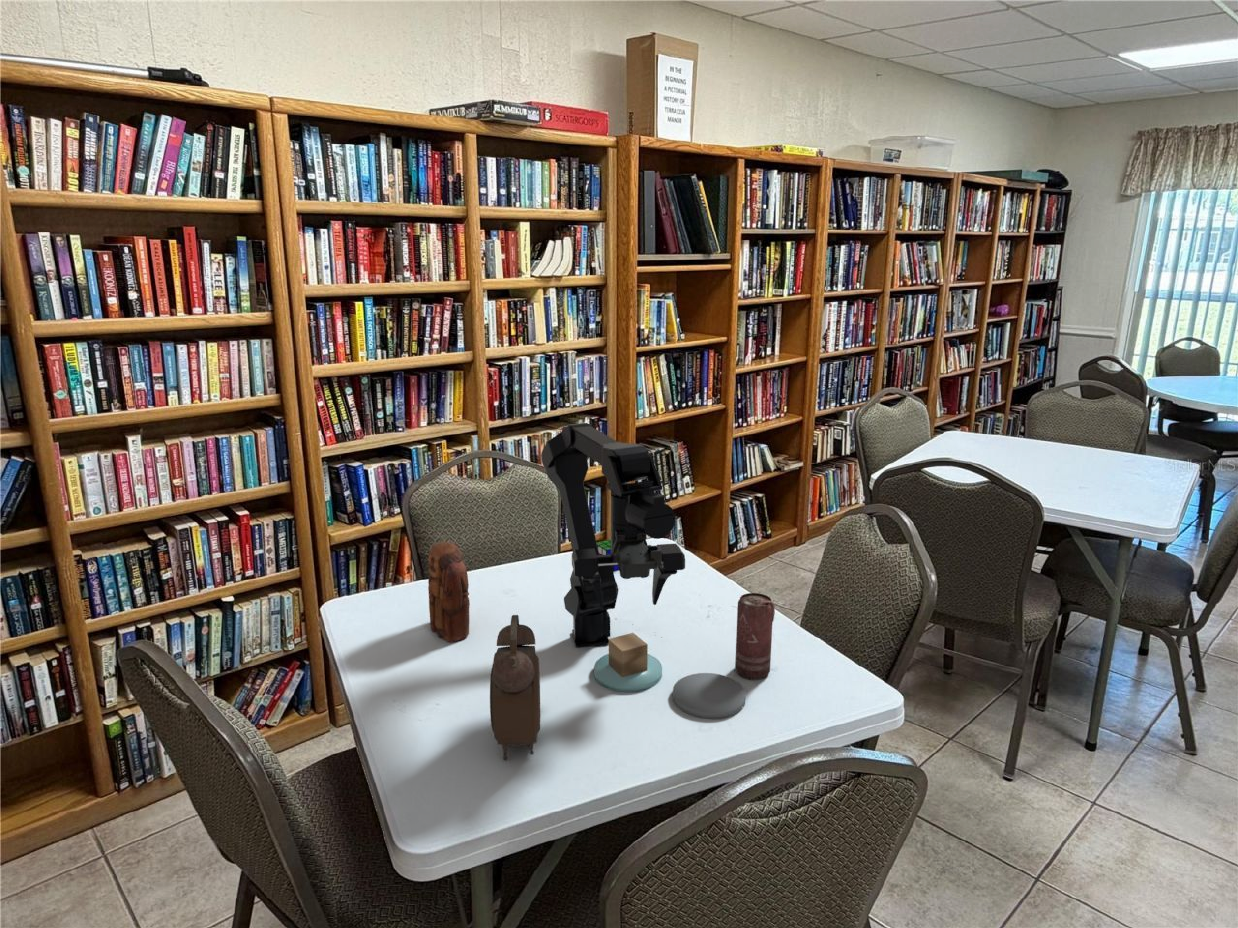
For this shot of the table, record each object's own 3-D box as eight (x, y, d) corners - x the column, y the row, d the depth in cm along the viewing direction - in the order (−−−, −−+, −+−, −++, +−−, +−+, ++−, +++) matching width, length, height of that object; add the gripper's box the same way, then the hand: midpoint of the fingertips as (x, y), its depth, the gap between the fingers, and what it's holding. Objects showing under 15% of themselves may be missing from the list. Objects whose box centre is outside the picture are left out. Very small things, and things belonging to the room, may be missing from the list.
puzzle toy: (614, 560, 188) (614, 538, 187) (626, 568, 184) (626, 545, 182) (593, 565, 185) (593, 543, 184) (606, 573, 181) (606, 550, 179)
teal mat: (598, 694, 131) (598, 688, 130) (590, 659, 142) (590, 653, 142) (668, 688, 132) (668, 682, 132) (654, 653, 144) (654, 648, 144)
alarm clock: (496, 715, 125) (490, 601, 120) (541, 713, 125) (537, 599, 120) (489, 774, 111) (481, 647, 106) (540, 771, 111) (535, 644, 106)
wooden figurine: (423, 623, 156) (416, 539, 152) (452, 615, 160) (447, 532, 155) (446, 646, 147) (440, 557, 142) (477, 637, 151) (472, 550, 146)
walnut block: (622, 677, 134) (622, 651, 132) (608, 664, 138) (608, 638, 137) (647, 670, 136) (647, 644, 135) (633, 657, 140) (633, 632, 139)
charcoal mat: (682, 721, 123) (682, 715, 123) (666, 682, 134) (666, 676, 134) (755, 714, 125) (755, 708, 124) (733, 676, 136) (733, 670, 136)
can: (771, 682, 134) (775, 607, 131) (734, 678, 135) (736, 604, 132) (771, 664, 140) (775, 593, 136) (736, 661, 141) (738, 590, 138)
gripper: (577, 540, 121) (579, 631, 125) (694, 533, 124) (692, 622, 128) (570, 517, 131) (572, 602, 135) (678, 511, 134) (676, 594, 138)
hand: (628, 605), depth 134 cm, fingers open, 9 cm apart
